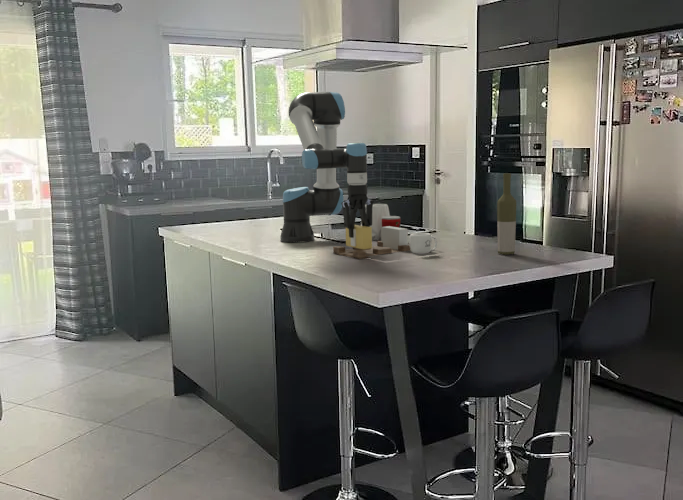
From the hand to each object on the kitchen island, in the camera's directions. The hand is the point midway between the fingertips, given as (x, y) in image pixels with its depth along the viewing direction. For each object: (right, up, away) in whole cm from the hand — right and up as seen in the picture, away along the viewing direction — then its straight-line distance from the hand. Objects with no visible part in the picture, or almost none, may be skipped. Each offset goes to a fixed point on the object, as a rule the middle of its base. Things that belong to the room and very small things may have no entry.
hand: (358, 245), depth 264 cm
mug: (+25, -4, -2) cm, 25 cm away
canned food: (+15, +1, +29) cm, 33 cm away
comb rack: (+5, -3, +4) cm, 7 cm away
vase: (+9, +3, +42) cm, 43 cm away
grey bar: (+14, -1, +9) cm, 17 cm away
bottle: (+55, -4, -8) cm, 55 cm away
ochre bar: (0, -1, 0) cm, 1 cm away
